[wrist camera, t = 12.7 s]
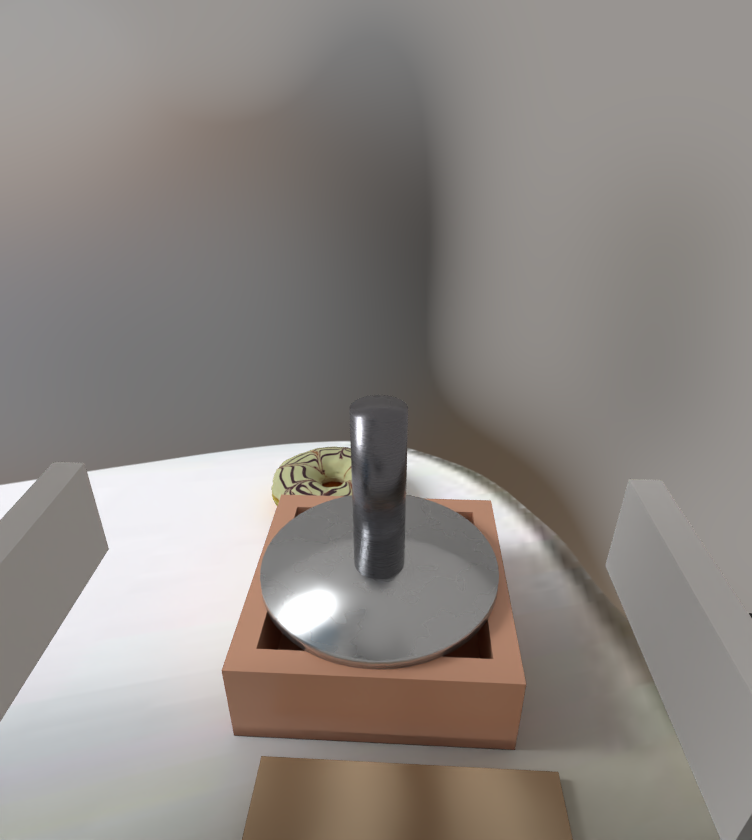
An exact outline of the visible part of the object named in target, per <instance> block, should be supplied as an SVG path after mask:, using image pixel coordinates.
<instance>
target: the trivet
mask: <svg viewBox="0 0 752 840" xmlns="http://www.w3.org/2000/svg"><path fill="white" fill-rule="evenodd" d="M242 840H573V839H572V834H571V829H570V825H569V820H568V815H567V811H566V806H565V801H564V797H563V792H562V787H561V783H560V778H559V773H558V772H550V771H531V770H512V769H493V768H475V767H456V766H437V765H418V764H399V763H380V762H362V761H343V760H324V759H305V758H286V757H267V756H261V760H260V765H259V769H258V773H257V777H256V782H255V786H254V790H253V795H252V799H251V803H250V807H249V812H248V816H247V820H246V825H245V829H244V833H243V837H242Z"/></svg>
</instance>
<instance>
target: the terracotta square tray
mask: <svg viewBox="0 0 752 840" xmlns="http://www.w3.org/2000/svg"><path fill="white" fill-rule="evenodd" d="M341 497H345V496H315V495H281V497H280V500H279V503H278V506H277V509H276V512H275V515H274V518H273V521H272V524H271V526H270V529H269V532H268V535H267V538H266V541H265V544H264V547H263V550H262V553H261V556H260V559H259V562H258V565H257V568H256V571H255V574H254V577H253V580H252V583H251V586H250V589H249V591H248V594H247V597H246V600H245V603H244V606H243V609H242V612H241V615H240V618H239V621H238V624H237V627H236V630H235V633H234V636H233V639H232V642H231V645H230V648H229V651H228V654H227V656H226V659H225V662H224V665H223V668H222V675H223V680H224V685H225V690H226V696H227V701H228V706H229V711H230V716H231V722H232V727H233V732H234V735H237V736H257V737H276V738H296V739H315V740H335V741H354V742H374V743H393V744H413V745H432V746H452V747H471V748H491V749H510V750H515V746H516V740H517V734H518V729H519V723H520V717H521V711H522V705H523V699H524V694H525V688H526V681H525V676H524V671H523V666H522V660H521V655H520V650H519V645H518V639H517V634H516V629H515V624H514V619H513V613H512V608H511V603H510V598H509V592H508V587H507V582H506V577H505V571H504V566H503V561H502V556H501V551H500V545H499V540H498V535H497V530H496V524H495V519H494V514H493V509H492V504H491V501H486V500H452V499H426V500H430V501H433V502H436V503H438V504H440V505H443V506H445V507H447V508H449V509H451V510H453V511H455V512H457V513H459V514H460V515H461V516H463V517H464V518H466V519H467V520H469V521H470V522H471V523H472V524H473V525H474V526H476V527H477V528H478V529H479V531H480V532H481V533H482V534H483V535H484V536H485V538H486V539H487V541H488V542H489V544H490V545H491V547H492V549H493V551H494V553H495V556H496V559H497V563H498V569H499V582H498V591H497V598H496V602H495V605H494V608H493V610H492V612H491V614H490V616H489V618H488V620H487V621H486V623H485V624H484V625H483V627H482V628H481V629H480V631H479V632H478V633H476V634H475V635H474V636H473V637H472V638H471V639H470V640H469V641H468V642H466V643H465V644H463V645H462V646H461V647H459V648H458V649H456V650H454V651H453V652H451V653H449V654H447V655H445V656H443V657H441V658H438V659H435V660H432V661H430V662H427V663H424V664H419V665H415V666H411V667H405V668H397V669H362V668H353V667H348V666H344V665H339V664H335V663H332V662H329V661H326V660H324V659H321V658H318V657H316V656H314V655H312V654H310V653H308V652H306V651H304V650H303V649H301V648H300V647H298V646H297V645H295V644H294V643H292V642H291V641H290V640H289V639H288V638H287V637H286V636H285V635H283V634H282V633H281V631H280V630H279V629H278V628H277V627H276V625H275V624H274V623H273V621H272V620H271V618H270V616H269V614H268V612H267V610H266V607H265V604H264V602H263V597H262V590H261V582H260V569H261V564H262V560H263V556H264V554H265V552H266V549H267V547H268V545H269V544H270V542H271V541H272V539H273V538H274V536H275V535H276V534H277V533H278V532H279V531H280V530H281V529H282V528H283V527H284V526H285V525H286V524H287V523H288V522H289V521H291V520H292V519H293V518H295V517H296V516H298V515H299V514H301V513H303V512H304V511H306V510H308V509H310V508H312V507H314V506H316V505H319V504H321V503H324V502H327V501H330V500H333V499H336V498H341Z"/></svg>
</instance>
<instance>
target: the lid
mask: <svg viewBox="0 0 752 840" xmlns="http://www.w3.org/2000/svg"><path fill="white" fill-rule="evenodd" d="M407 427H408V406H407V404H406V403H405V402H404V401H402V400H401V399H398V398H396V397H392V396H386V395H372V396H366V397H362V398H359V399H357V400H355V401H354V402H353V403H352V404H351V405H350V437H351V472H352V495H350V496H345V497H341V498H336V499H333V500H330V501H327V502H324V503H321V504H319V505H316V506H314V507H312V508H310V509H308V510H306V511H304V512H303V513H301V514H299V515H298V516H296V517H295V518H293V519H292V520H291V521H289V522H288V523H287V524H286V525H285V526H284V527H283V528H282V529H281V530H280V531H279V532H278V533H277V534H276V535H275V536H274V538H273V539H272V541H271V542H270V544H269V545H268V547H267V549H266V552H265V554H264V556H263V560H262V564H261V569H260V582H261V590H262V597H263V602H264V604H265V607H266V610H267V612H268V614H269V616H270V618H271V620H272V621H273V623H274V624H275V625H276V627H277V628H278V629H279V630H280V631H281V633H282V634H283V635H285V636H286V637H287V638H288V639H289V640H290V641H291V642H292V643H294V644H295V645H297V646H298V647H300V648H301V649H303V650H304V651H306V652H308V653H310V654H312V655H314V656H316V657H318V658H321V659H324V660H326V661H329V662H332V663H335V664H339V665H344V666H348V667H353V668H362V669H397V668H405V667H411V666H415V665H419V664H424V663H427V662H430V661H432V660H435V659H438V658H441V657H443V656H445V655H447V654H449V653H451V652H453V651H454V650H456V649H458V648H459V647H461V646H462V645H463V644H465V643H466V642H468V641H469V640H470V639H471V638H472V637H473V636H474V635H475V634H476V633H478V632H479V631H480V629H481V628H482V627H483V625H484V624H485V623H486V621H487V620H488V618H489V616H490V614H491V612H492V610H493V608H494V605H495V602H496V598H497V591H498V582H499V569H498V563H497V559H496V556H495V553H494V551H493V549H492V547H491V545H490V544H489V542H488V541H487V539H486V538H485V536H484V535H483V534H482V533H481V532H480V531H479V529H478V528H477V527H476V526H474V525H473V524H472V523H471V522H470V521H469V520H467V519H466V518H464V517H463V516H461V515H460V514H459V513H457V512H455V511H453V510H451V509H449V508H447V507H445V506H443V505H440V504H438V503H436V502H433V501H430V500H426V499H423V498H419V497H415V496H410V495H406V473H407Z"/></svg>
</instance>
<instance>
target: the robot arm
mask: <svg viewBox="0 0 752 840" xmlns="http://www.w3.org/2000/svg"><path fill="white" fill-rule="evenodd" d="M108 549H109V548H108V544H107V541H106V537H105V534H104V530H103V527H102V523H101V520H100V516H99V513H98V509H97V506H96V502H95V499H94V495H93V492H92V488H91V484H90V481H89V477H88V474H87V470H86V467H85V464H84V463H66V462H53V463H52V464H51V465H50V467H49V468H48V469H47V470H46V471H45V472H44V473H43V474H42V475H41V476H40V477H39V478H38V480H37V481H36V482H35V483H34V484H33V485H32V486H31V487H30V488H29V489H28V490H27V492H26V493H25V494H24V495H23V496H22V497H21V498H20V499H19V500H18V501H17V502H16V504H15V505H14V506H13V507H12V508H11V509H10V510H9V511H8V512H7V513H6V514H5V516H4V517H3V518H2V519H1V520H0V721H1V720H2V718H3V716H4V715H5V713H6V712H7V710H8V708H9V707H10V705H11V704H12V702H13V701H14V699H15V697H16V696H17V694H18V693H19V691H20V689H21V688H22V686H23V685H24V683H25V681H26V680H27V678H28V677H29V675H30V673H31V672H32V670H33V669H34V667H35V665H36V664H37V662H38V661H39V659H40V658H41V656H42V654H43V653H44V651H45V650H46V648H47V646H48V645H49V643H50V642H51V640H52V638H53V637H54V635H55V634H56V632H57V630H58V629H59V627H60V626H61V624H62V623H63V621H64V619H65V618H66V616H67V615H68V613H69V611H70V610H71V608H72V607H73V605H74V603H75V602H76V600H77V599H78V597H79V595H80V594H81V592H82V591H83V589H84V587H85V586H86V584H87V583H88V581H89V580H90V578H91V576H92V575H93V573H94V572H95V570H96V568H97V567H98V565H99V564H100V562H101V560H102V559H103V557H104V556H105V554H106V552H107V551H108ZM606 568H607V571H608V573H609V575H610V578H611V580H612V582H613V585H614V587H615V589H616V592H617V594H618V597H619V599H620V601H621V604H622V606H623V609H624V611H625V613H626V616H627V618H628V621H629V623H630V625H631V628H632V630H633V632H634V635H635V637H636V640H637V642H638V644H639V647H640V649H641V651H642V654H643V656H644V659H645V661H646V663H647V666H648V668H649V670H650V673H651V675H652V678H653V680H654V682H655V685H656V687H657V689H658V692H659V694H660V697H661V699H662V701H663V704H664V706H665V708H666V711H667V713H668V716H669V718H670V720H671V723H672V725H673V727H674V730H675V732H676V735H677V737H678V739H679V742H680V744H681V746H682V749H683V751H684V754H685V756H686V758H687V761H688V763H689V765H690V768H691V770H692V773H693V775H694V777H695V780H696V782H697V784H698V787H699V789H700V792H701V794H702V796H703V799H704V801H705V803H706V806H707V808H708V811H709V813H710V815H711V818H712V820H713V822H714V825H715V827H716V830H717V832H718V834H719V837H720V839H721V840H752V614H751V613H748V612H747V610H746V609H745V607H744V606H743V604H742V603H741V601H740V600H739V599H738V597H737V595H736V594H735V592H734V590H733V589H732V587H731V586H730V584H729V583H728V581H727V580H726V578H725V577H724V575H723V573H722V572H721V570H720V569H719V567H718V566H717V564H716V563H715V561H714V560H713V558H712V557H711V555H710V554H709V552H708V551H707V549H706V547H705V546H704V544H703V543H702V541H701V540H700V538H699V537H698V535H697V534H696V532H695V531H694V529H693V528H692V526H691V525H690V523H689V521H688V520H687V518H686V517H685V516H684V514H683V512H682V511H681V509H680V508H679V506H678V505H677V503H676V501H675V500H674V498H673V497H672V496H671V494H670V492H669V491H668V489H667V488H666V486H665V485H664V483H663V482H662V480H640V479H629V481H628V485H627V488H626V492H625V496H624V499H623V503H622V507H621V510H620V514H619V518H618V522H617V525H616V528H615V532H614V536H613V540H612V543H611V547H610V551H609V554H608V558H607V562H606Z"/></svg>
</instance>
